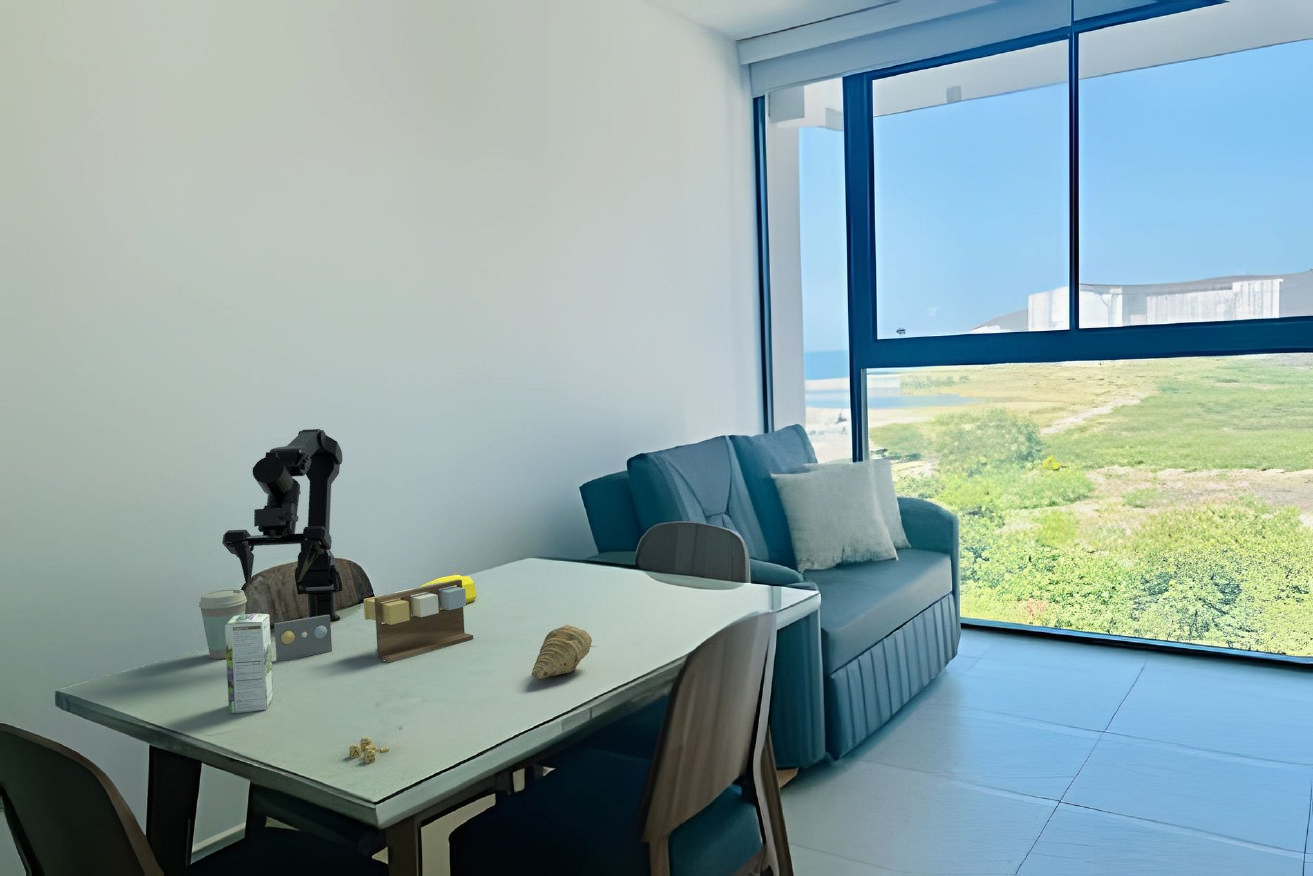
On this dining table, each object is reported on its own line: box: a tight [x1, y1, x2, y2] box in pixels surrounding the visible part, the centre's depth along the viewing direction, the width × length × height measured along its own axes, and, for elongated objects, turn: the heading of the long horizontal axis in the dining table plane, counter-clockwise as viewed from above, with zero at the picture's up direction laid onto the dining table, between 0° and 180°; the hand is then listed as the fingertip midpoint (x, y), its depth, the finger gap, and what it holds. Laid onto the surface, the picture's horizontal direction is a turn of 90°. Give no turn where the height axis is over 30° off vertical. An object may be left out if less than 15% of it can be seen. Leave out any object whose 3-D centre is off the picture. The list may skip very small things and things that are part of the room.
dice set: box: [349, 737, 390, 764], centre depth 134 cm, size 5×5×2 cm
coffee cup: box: [198, 588, 248, 660], centre depth 187 cm, size 9×8×12 cm
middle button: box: [392, 587, 439, 617], centre depth 187 cm, size 9×4×4 cm, turn 48°
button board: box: [374, 579, 474, 663], centre depth 186 cm, size 4×19×12 cm, turn 138°
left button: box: [363, 594, 410, 625], centre depth 183 cm, size 9×4×4 cm, turn 48°
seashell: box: [531, 624, 593, 680], centre depth 166 cm, size 14×8×8 cm, turn 160°
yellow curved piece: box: [419, 574, 478, 610], centre depth 220 cm, size 18×7×8 cm
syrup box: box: [225, 613, 274, 714], centre depth 155 cm, size 6×6×14 cm
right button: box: [422, 582, 467, 610], centre depth 192 cm, size 9×4×4 cm, turn 48°
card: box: [273, 615, 333, 662], centre depth 184 cm, size 1×10×7 cm, turn 124°
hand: (272, 582), depth 180 cm, fingers open, 9 cm apart
